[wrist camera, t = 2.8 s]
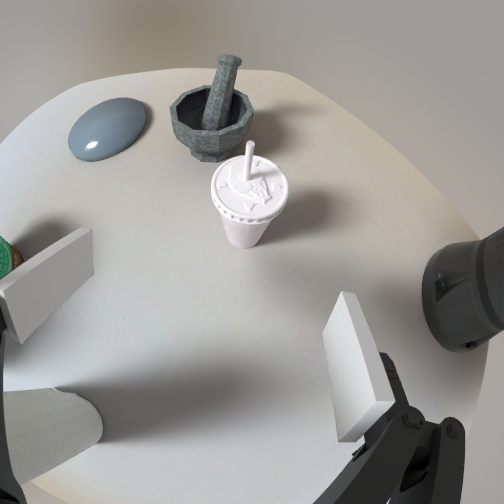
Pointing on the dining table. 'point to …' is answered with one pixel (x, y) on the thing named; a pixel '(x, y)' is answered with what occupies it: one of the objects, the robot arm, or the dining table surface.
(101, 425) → the paper towel roll
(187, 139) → the mortar and pestle
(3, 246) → the food container
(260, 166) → the smoothie
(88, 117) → the dish
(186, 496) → the dining table surface
